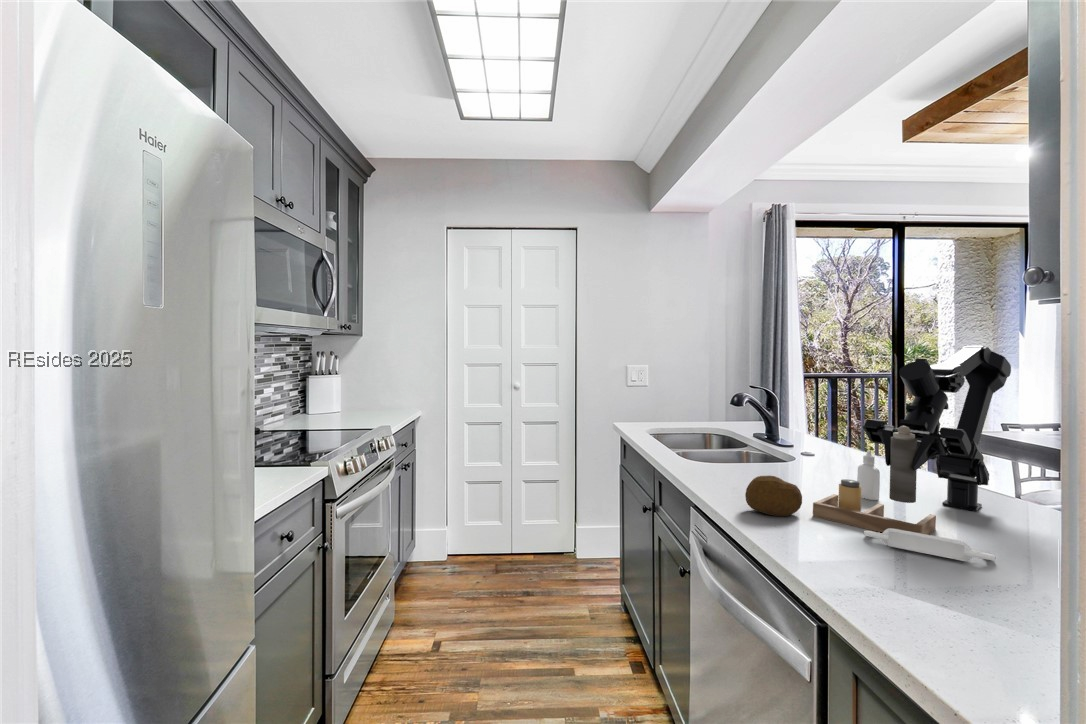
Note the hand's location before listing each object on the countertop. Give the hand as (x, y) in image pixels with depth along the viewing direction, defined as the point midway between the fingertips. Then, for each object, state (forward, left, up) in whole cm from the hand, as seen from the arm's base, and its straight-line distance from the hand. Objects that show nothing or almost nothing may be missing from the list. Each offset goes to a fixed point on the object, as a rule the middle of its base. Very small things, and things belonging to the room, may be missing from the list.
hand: (900, 467), depth 109 cm
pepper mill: (-1, 0, -7) cm, 7 cm away
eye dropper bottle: (-20, -12, -13) cm, 27 cm away
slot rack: (0, -5, -13) cm, 14 cm away
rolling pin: (+10, +7, -14) cm, 18 cm away
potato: (+12, -21, -13) cm, 28 cm away
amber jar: (0, -10, -13) cm, 16 cm away
